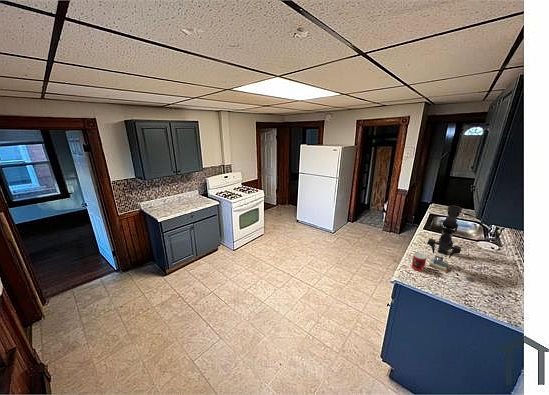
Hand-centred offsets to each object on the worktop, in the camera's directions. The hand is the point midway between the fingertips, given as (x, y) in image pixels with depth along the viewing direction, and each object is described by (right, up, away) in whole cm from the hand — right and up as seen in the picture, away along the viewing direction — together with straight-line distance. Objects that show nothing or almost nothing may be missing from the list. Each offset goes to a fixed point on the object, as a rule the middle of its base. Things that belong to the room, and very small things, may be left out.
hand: (441, 255), depth 158 cm
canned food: (-17, -10, +1) cm, 19 cm away
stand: (0, -8, +3) cm, 9 cm away
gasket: (+11, -14, -11) cm, 21 cm away
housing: (0, -6, +3) cm, 6 cm away
